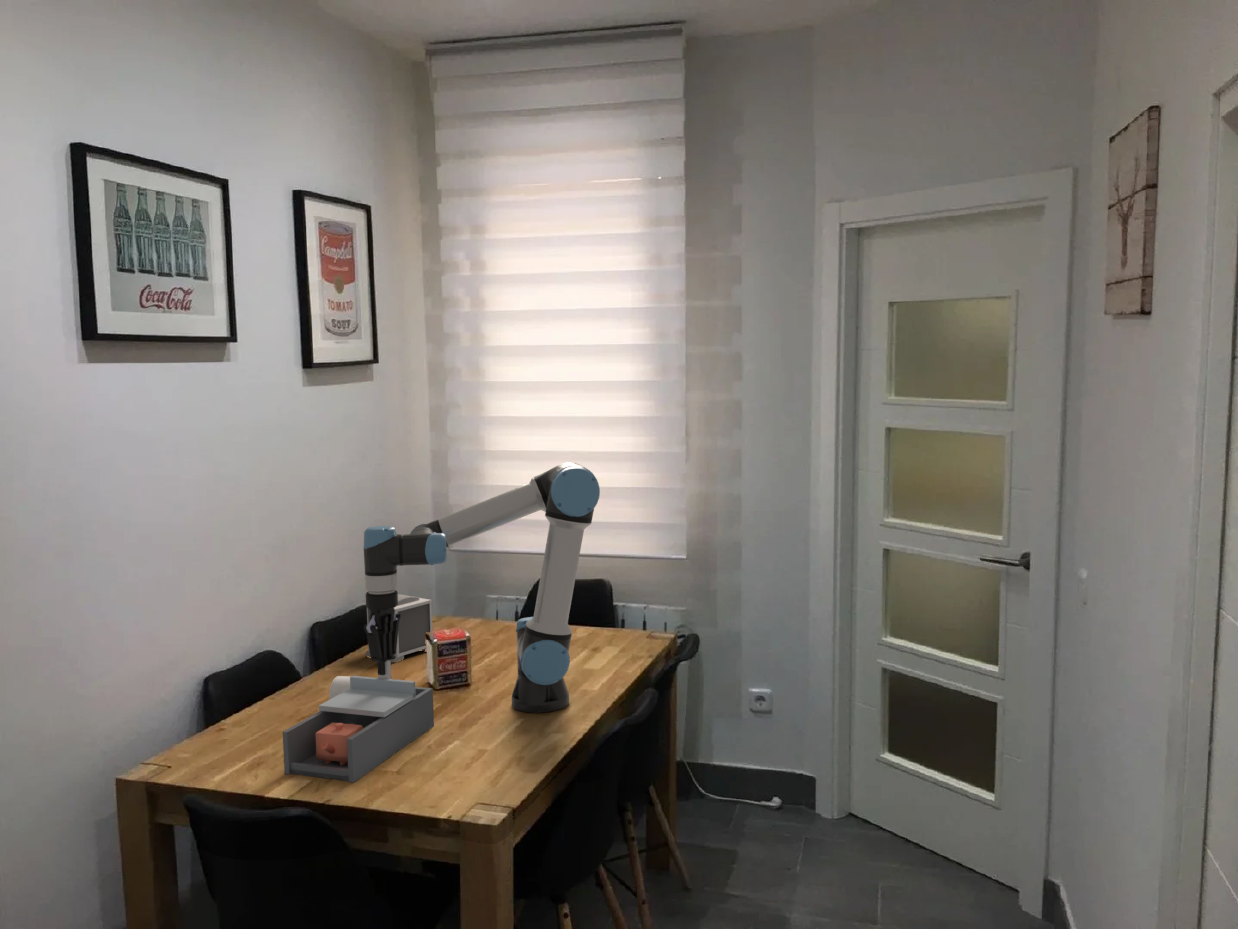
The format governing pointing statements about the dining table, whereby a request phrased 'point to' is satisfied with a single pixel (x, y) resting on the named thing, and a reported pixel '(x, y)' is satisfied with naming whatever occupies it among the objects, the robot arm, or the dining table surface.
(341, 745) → the pink cube teapot
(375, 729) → the housing
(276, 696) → the dining table surface
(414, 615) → the grey panelled box
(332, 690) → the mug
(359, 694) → the lid
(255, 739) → the dining table surface
